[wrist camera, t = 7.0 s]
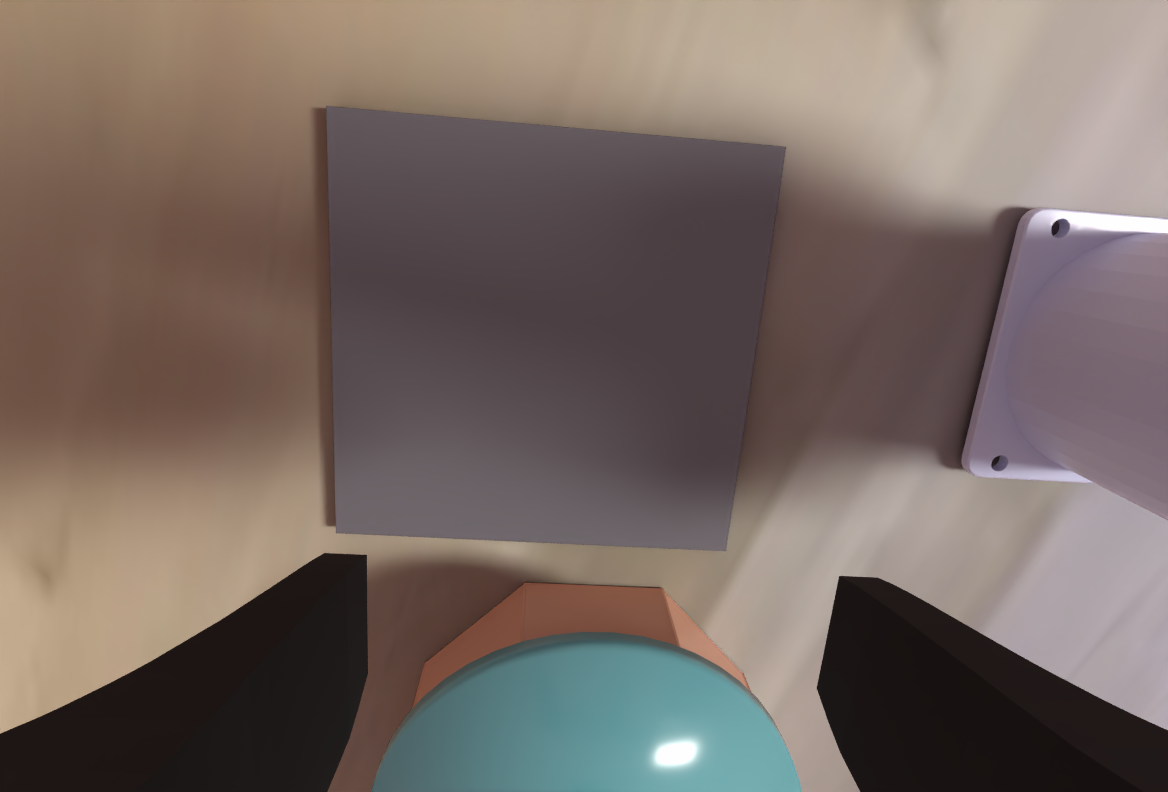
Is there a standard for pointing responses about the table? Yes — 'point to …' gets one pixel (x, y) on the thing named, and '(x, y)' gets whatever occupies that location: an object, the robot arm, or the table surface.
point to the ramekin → (573, 625)
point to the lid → (588, 724)
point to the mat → (542, 328)
